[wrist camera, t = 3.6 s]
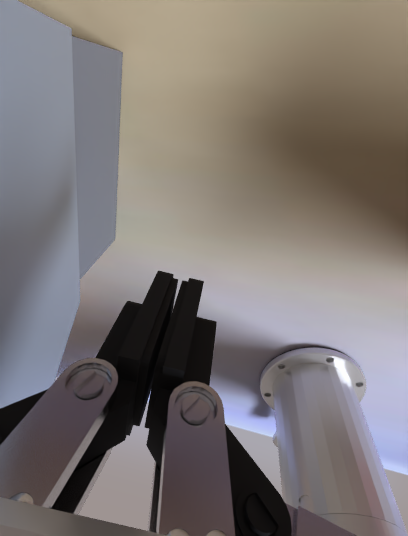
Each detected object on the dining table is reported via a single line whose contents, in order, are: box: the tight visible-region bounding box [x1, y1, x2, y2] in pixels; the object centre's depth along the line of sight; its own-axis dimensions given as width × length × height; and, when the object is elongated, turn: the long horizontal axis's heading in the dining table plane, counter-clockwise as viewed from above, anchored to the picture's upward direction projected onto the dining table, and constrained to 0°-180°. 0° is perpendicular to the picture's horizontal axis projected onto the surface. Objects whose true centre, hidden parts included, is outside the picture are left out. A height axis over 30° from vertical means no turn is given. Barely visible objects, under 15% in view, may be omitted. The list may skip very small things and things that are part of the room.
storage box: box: [72, 36, 123, 279], centre depth 22 cm, size 16×14×10 cm
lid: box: [0, 0, 80, 408], centre depth 12 cm, size 16×14×1 cm
